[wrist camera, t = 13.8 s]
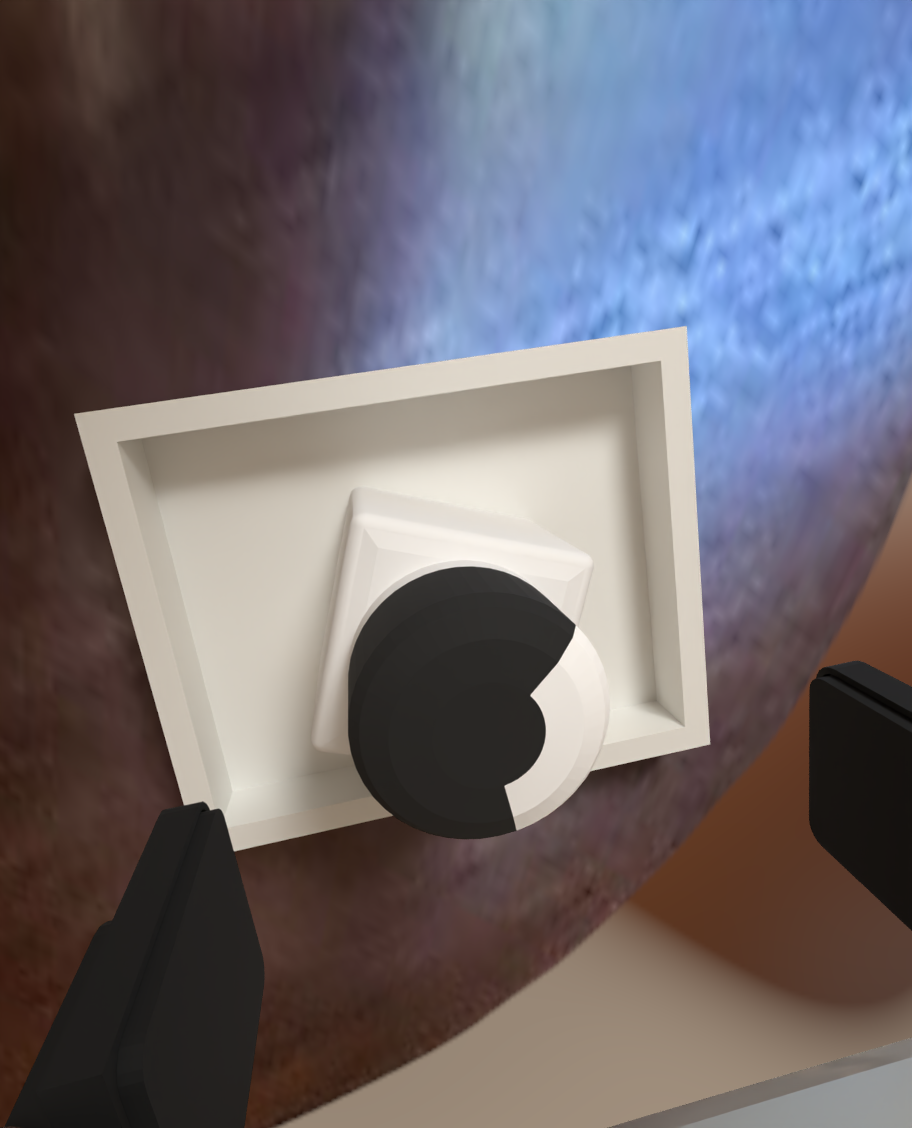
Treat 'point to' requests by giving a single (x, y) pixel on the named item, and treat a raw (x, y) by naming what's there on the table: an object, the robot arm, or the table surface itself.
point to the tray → (409, 467)
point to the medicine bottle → (459, 665)
